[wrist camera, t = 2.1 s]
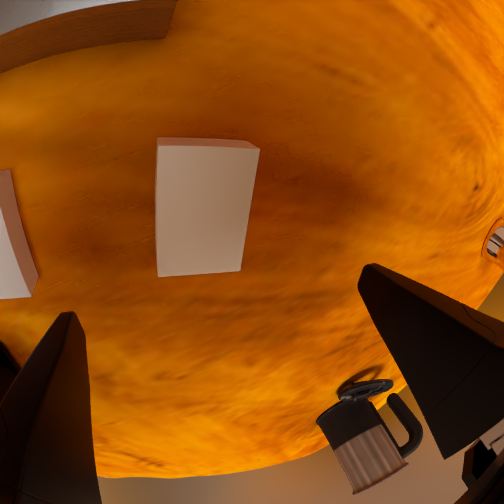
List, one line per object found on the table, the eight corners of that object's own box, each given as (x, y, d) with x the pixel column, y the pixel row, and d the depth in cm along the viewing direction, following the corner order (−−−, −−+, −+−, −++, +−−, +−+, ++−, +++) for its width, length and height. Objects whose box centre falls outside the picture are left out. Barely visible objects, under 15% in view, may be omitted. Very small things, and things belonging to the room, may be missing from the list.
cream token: (229, 249, 16) (240, 271, 14) (155, 253, 14) (157, 277, 13) (244, 138, 13) (260, 149, 11) (156, 136, 11) (157, 145, 10)
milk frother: (327, 424, 43) (363, 489, 31) (283, 419, 33) (329, 511, 22) (393, 378, 41) (437, 441, 29) (374, 357, 31) (437, 449, 20)
